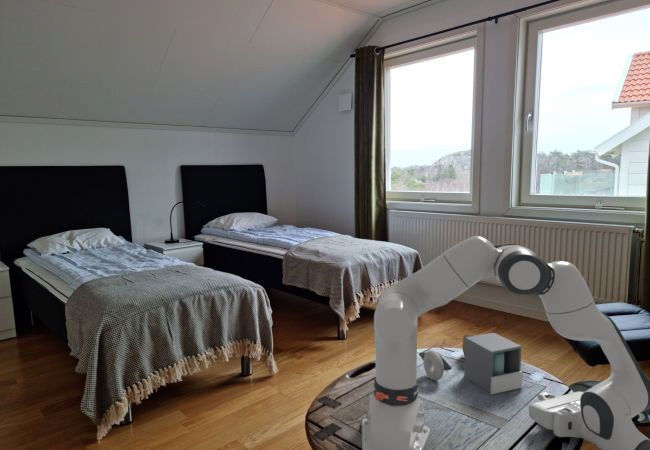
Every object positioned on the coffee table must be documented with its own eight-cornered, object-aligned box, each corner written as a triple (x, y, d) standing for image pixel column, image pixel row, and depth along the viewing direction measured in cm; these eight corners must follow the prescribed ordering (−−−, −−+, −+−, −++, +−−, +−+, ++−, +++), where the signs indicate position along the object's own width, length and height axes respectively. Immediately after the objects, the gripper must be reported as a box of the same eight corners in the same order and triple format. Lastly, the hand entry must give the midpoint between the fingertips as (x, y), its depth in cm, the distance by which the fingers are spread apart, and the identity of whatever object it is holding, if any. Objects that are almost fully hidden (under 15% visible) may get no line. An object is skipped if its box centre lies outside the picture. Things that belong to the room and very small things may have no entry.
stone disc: (460, 354, 175) (460, 330, 174) (469, 354, 176) (470, 329, 175) (472, 366, 165) (472, 340, 164) (481, 365, 166) (482, 339, 164)
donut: (445, 384, 152) (446, 356, 150) (436, 386, 150) (437, 357, 149) (429, 372, 161) (430, 345, 160) (421, 373, 160) (421, 346, 159)
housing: (519, 386, 150) (521, 346, 148) (490, 393, 145) (491, 351, 144) (492, 370, 162) (493, 332, 160) (464, 376, 157) (465, 337, 156)
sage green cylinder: (505, 382, 148) (505, 355, 147) (488, 382, 149) (488, 354, 148) (502, 375, 154) (502, 348, 152) (485, 374, 154) (485, 348, 153)
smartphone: (437, 353, 178) (437, 351, 178) (452, 370, 163) (452, 368, 163) (418, 354, 177) (418, 352, 177) (431, 371, 162) (431, 369, 162)
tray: (521, 387, 149) (522, 371, 148) (492, 394, 144) (492, 378, 144) (496, 372, 160) (497, 357, 159) (468, 378, 155) (468, 363, 155)
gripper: (611, 400, 124) (568, 378, 137) (554, 415, 117) (514, 391, 130) (610, 421, 125) (567, 398, 138) (553, 438, 118) (513, 412, 130)
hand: (541, 394), depth 134 cm, fingers closed
